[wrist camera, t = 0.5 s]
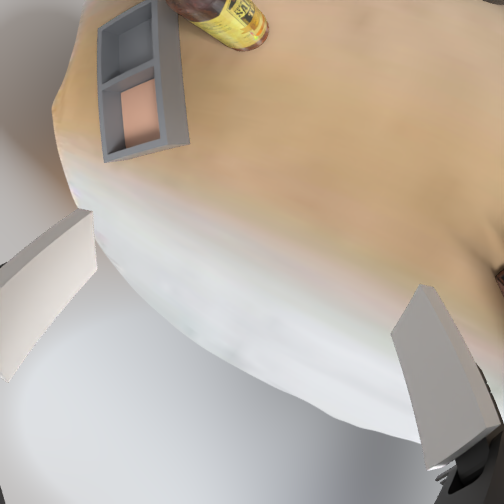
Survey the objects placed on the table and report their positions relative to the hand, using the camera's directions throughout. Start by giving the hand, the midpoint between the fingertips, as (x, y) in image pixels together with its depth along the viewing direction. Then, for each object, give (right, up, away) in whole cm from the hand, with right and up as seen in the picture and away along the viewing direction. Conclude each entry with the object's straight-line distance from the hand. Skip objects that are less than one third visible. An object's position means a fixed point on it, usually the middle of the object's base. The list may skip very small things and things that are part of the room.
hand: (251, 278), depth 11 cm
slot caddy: (-15, +26, +25) cm, 39 cm away
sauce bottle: (0, +29, +18) cm, 34 cm away
